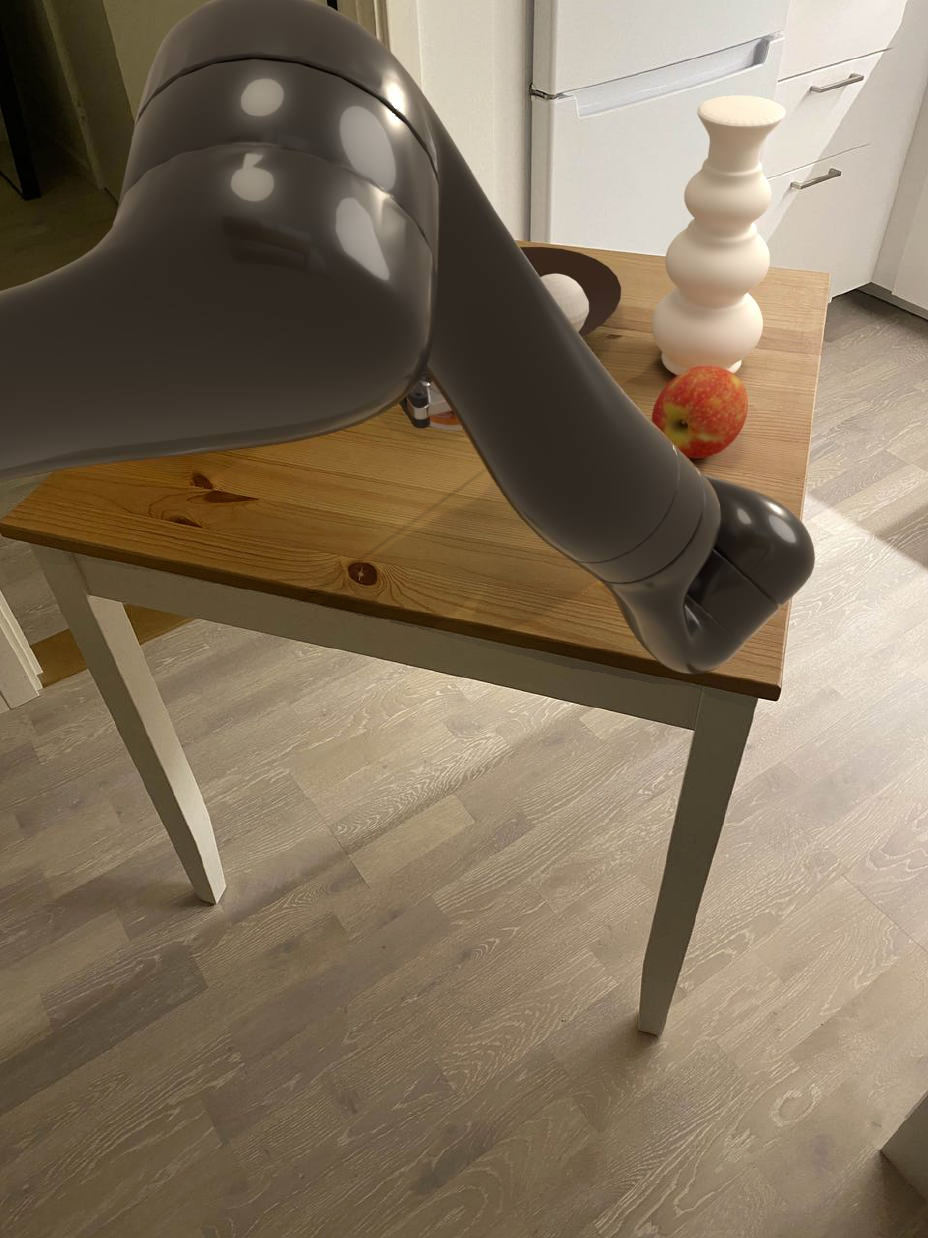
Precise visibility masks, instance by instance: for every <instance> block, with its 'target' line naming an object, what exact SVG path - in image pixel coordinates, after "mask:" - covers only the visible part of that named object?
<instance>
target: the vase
mask: <svg viewBox="0 0 928 1238" xmlns="http://www.w3.org/2000/svg"><path fill="white" fill-rule="evenodd" d="M696 111H697V112H696V113H697V116H698V118H699V120H700V122H701V124H702V125H703V127H704V128H705V130H706V132H707V135H708V137H709V145H708V151H707V152H708V153H707V158H705V159H704V161H703V163H702V166H701V169H700V170H699V171H697V172H696V173H695V174H694V175H693V176H692V177H691V178H690V179H689V181H688V182H687V184H686V186H685V188H684V193H683V199H684V204H685V206H686V210H687V211H688V212H689V214H690V215H691V216H692V217H693V219H692V220H690V221H689V223H688V225H687V227H686V228H684V229H683V230H682V231H680V232H679V233H678V234H677V235H676V236H675V237H673V239H672V241H671V242H670V244H669V245H668V248H667V249H666V253H665V259H664V263H665V269H666V273H667V275H668V277H669V279H670V280H671V282H672V283H673V284H674V286H676V287H675V288H673V289H672V290H671V291H669V292H668V293H666V294H665V295H664V297H663V298H661V300H660V301H659V302H658V303H657V306H656V308H655V309H654V312H653V315H652V319H651V333H652V337H653V339H654V342H655V344H656V346H657V347H658V349H659V350H660V351H661V362H662V365H664V367H665V368H666V369H667V371H669V372H670V373H672V374H674V375H675V376H678V375H679V374H681V373H682V372H684V371H686V370H689V369H691V368H694V367H699V366H714V367H720V368H723V369H726V370H728V371H730V372H732V373H733V374H734V375H735V373H737V371H738V370H739V369H740V368H741V367H742V366H741V365H742V361H743V360H744V359H745V358H746V357H748V356H749V355H750V354H751V353H752V352H753V351H754V349H755V348H756V346H757V345H758V343H759V341H760V339H761V337H762V334H763V329H764V328H763V327H764V319H763V314H762V312H761V309H760V307H759V305H758V303H757V302H756V300H755V299H754V298H753V297H752V296H751V294H749V293H750V292H751V291H753V290H754V289H756V288H757V287H758V286H759V285H760V284H761V283H762V282H763V281H764V279H765V277H766V275H767V274H768V272H769V268H770V264H771V253H770V250H769V247H768V245H767V243H766V242H765V240H764V238H763V237H762V236H761V235H760V234H759V233H758V228H757V226H756V224H755V223H754V222H755V221H756V220H758V219H759V218H760V217H762V216H763V215H764V214H765V213H766V212H767V209H768V208H769V207H770V204H771V201H772V196H773V193H772V187H771V184H770V182H769V180H768V178H767V177H766V176H765V174H763V164H762V163H761V161H760V158H761V153H762V148H763V144H764V141H765V139H766V138H767V137H768V135H769V134H770V133H771V132H772V131H774V130H775V129H776V127H777V126H778V125H779V124H781V122H782V121H783V120H784V118H785V116H786V109H785V107H784V106H782V105H781V104H779V103H778V102H776V101H774V100H772V99H768V98H765V97H761V96H755V95H746V94H745V95H744V94H734V95H730V94H729V95H723V96H717V97H712V98H710V99H707V100H706V101H703V102H702V103H701V104H699V105H698V107H697V110H696Z"/></svg>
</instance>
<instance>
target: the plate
mask: <svg viewBox="0 0 928 1238" xmlns="http://www.w3.org/2000/svg"><path fill="white" fill-rule="evenodd" d="M519 247H520V249H521V250H522V251H523V253H524V254H525V256H526V257H527V259H528V260H529V262H530V263H531V265H532V266H533V268H534V269H535V271H536V272H537V274H538V275H539V277H542V276H545V275H549V274H561V275H566V276H568V277H570V278H572V279H573V280H575V281H576V282H577V283H578V284H579V285H580V287H581V288H582V290H583V291H584V293H585V295H586V297H587V299H588V302H589V312H588V315H587V317H586V319H585V322H584V324H583V326H582V327H581V329H580V330H579V332H578V333H579V334H580V336H581V337H582V338H584V337H586V336H587V335H589V334H590V333H592V332H593V331H595V330H597V329H598V328H599V327H601V326H602V325H603V324H604V323H606V321H608V319H609V318H610V317H611V316H612V315H613V314H614V313H615V311H616V309H617V308H618V305H619V303H620V302H621V297H622V286H621V283H620V280H619V278H618V276H617V275H616V273H615V272H614V271H613V270H612V269H611V268H610V267H609V266H608V265H606V264H604V263H603V262H602V261H600V260H598V259H597V258H595V257H592V256H590V255H587V254H584V253H581V252H579V251H574V250H569V249H565V248H559V247H547V246H519Z"/></svg>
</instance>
